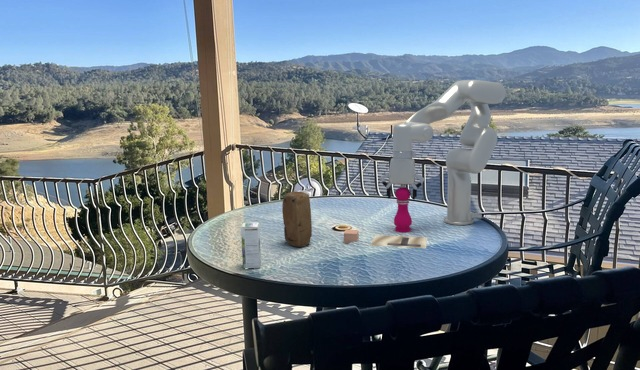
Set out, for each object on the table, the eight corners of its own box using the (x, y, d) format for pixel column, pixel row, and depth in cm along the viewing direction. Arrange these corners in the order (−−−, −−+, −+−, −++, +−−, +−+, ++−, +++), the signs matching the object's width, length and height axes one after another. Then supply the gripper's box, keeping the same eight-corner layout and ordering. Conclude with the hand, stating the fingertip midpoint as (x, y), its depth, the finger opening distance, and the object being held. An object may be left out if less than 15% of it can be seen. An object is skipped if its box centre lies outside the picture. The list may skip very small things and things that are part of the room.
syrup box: (244, 263, 161) (241, 222, 158) (261, 262, 161) (259, 221, 158) (243, 269, 155) (240, 227, 152) (261, 268, 156) (258, 226, 153)
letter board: (427, 239, 180) (427, 237, 179) (425, 250, 167) (425, 248, 167) (375, 236, 185) (375, 234, 185) (370, 247, 172) (370, 245, 172)
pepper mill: (411, 235, 186) (412, 185, 182) (393, 234, 187) (393, 185, 183) (412, 229, 192) (412, 181, 189) (394, 229, 194) (394, 181, 190)
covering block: (358, 239, 182) (358, 229, 182) (357, 243, 178) (356, 233, 177) (345, 239, 183) (345, 229, 183) (344, 243, 179) (343, 233, 178)
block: (314, 244, 178) (312, 193, 174) (298, 249, 173) (296, 196, 169) (296, 238, 186) (294, 189, 182) (281, 243, 181) (278, 192, 177)
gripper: (425, 154, 185) (424, 197, 188) (381, 154, 189) (381, 195, 193) (424, 157, 178) (423, 201, 181) (379, 156, 182) (378, 199, 185)
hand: (401, 198), depth 187 cm, fingers open, 9 cm apart
